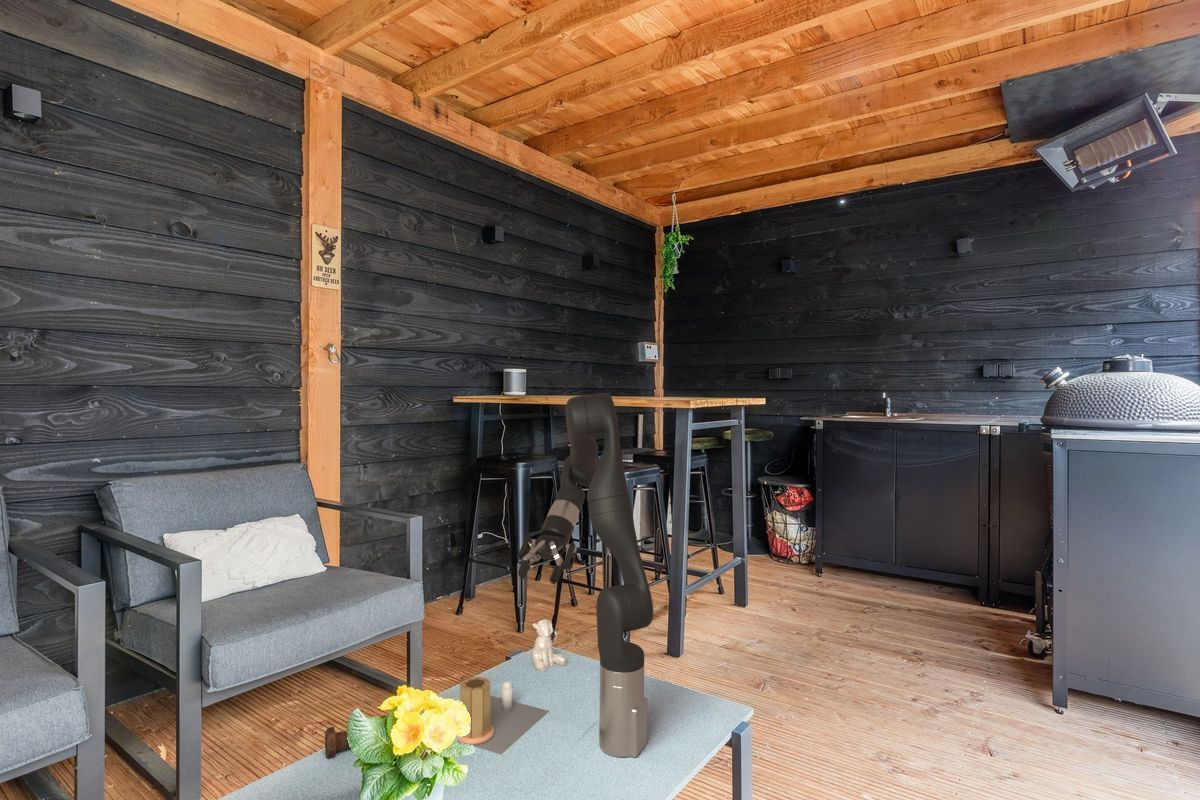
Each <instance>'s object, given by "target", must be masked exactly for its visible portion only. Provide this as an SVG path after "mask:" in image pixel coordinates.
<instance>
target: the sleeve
mask: <svg viewBox="0 0 1200 800" xmlns="http://www.w3.org/2000/svg"><path fill="white" fill-rule="evenodd" d="M490 696H491V682H490V679H489V678H487V677H486V678H485V677H483V676H473V677H467V678H465V679H464V680H462V681H460V683H459V702H460V701H461V702H463V703H464V704H465V706H466V708H467V711H468V712H469V714H470V717H471V730H470V733H469V734H468V735H466V736H463V737H465V738H468V739H471V738H472V739H476V738H482V737H484V736H485V735H487V734H488V733H489V732H490Z"/></svg>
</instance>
